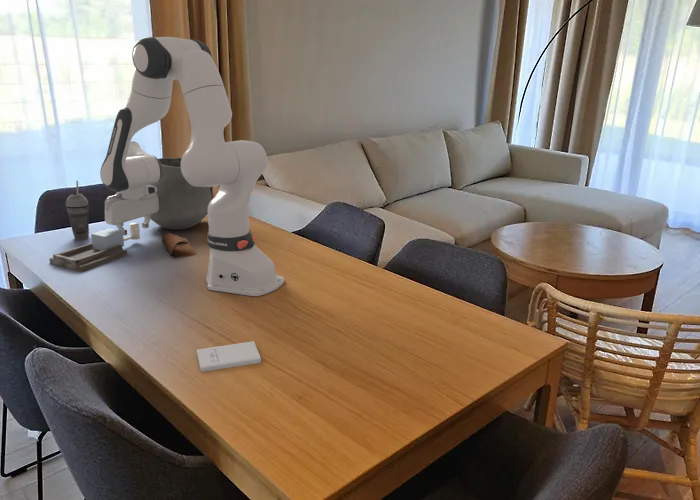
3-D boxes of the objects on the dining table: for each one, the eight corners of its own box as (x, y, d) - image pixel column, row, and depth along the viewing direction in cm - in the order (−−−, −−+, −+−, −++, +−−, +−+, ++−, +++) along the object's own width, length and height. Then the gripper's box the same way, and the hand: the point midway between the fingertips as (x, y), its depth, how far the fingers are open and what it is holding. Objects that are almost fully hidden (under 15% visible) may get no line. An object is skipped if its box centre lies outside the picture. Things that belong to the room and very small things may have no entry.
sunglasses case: (199, 254, 181) (187, 239, 178) (180, 267, 180) (168, 252, 176) (186, 238, 196) (175, 224, 193) (169, 251, 195) (158, 236, 191)
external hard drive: (261, 364, 119) (200, 374, 115) (254, 346, 126) (196, 354, 122) (261, 358, 119) (200, 367, 114) (253, 340, 126) (196, 348, 122)
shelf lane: (127, 255, 179) (126, 246, 178) (81, 271, 165) (80, 262, 164) (97, 247, 185) (95, 239, 184) (50, 263, 171) (48, 253, 170)
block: (145, 238, 190) (144, 224, 189) (106, 251, 177) (104, 236, 175) (132, 235, 193) (131, 221, 191) (93, 248, 179) (91, 233, 178)
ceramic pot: (175, 241, 193) (169, 169, 185) (130, 228, 206) (122, 160, 198) (226, 225, 213) (223, 159, 205) (182, 214, 225) (177, 152, 217)
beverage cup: (78, 234, 199) (70, 178, 192) (97, 235, 198) (90, 179, 191) (65, 240, 192) (56, 182, 185) (85, 241, 191) (77, 183, 184)
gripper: (111, 198, 175) (116, 241, 179) (160, 186, 192) (164, 225, 197) (97, 196, 178) (102, 238, 182) (147, 184, 195) (150, 222, 199)
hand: (134, 231), depth 189 cm, fingers open, 8 cm apart
